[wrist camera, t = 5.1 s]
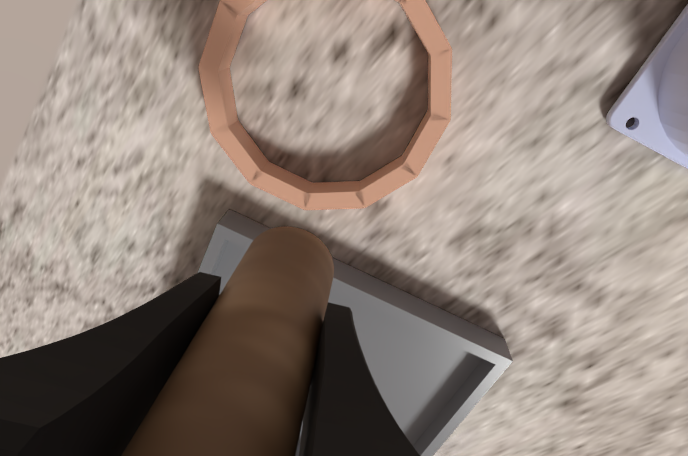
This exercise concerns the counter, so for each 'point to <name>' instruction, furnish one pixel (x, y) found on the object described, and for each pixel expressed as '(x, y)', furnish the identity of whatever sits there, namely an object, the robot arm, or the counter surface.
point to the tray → (395, 342)
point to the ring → (291, 187)
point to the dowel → (247, 358)
